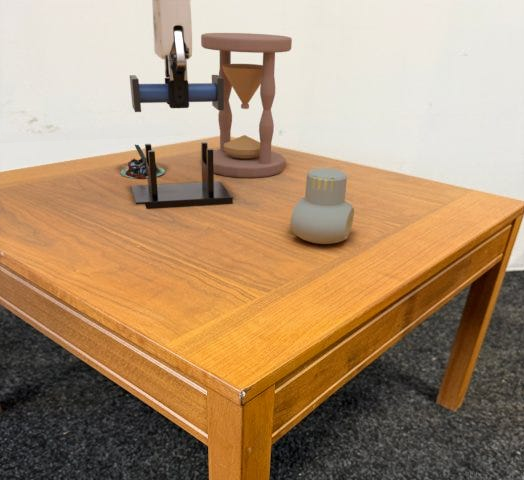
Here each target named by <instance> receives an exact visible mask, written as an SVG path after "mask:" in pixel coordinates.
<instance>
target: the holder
mask: <svg viewBox="0 0 524 480" xmlns="http://www.w3.org/2000/svg"><path fill="white" fill-rule="evenodd" d="M200 147H201V148H200V154H201V156H200V157H201V182H184V183H183V182H182V183H181V182H180V183H164V184H162V183H161V184H158V176H156V166H157V163H156V152H155V150H154V149H153V150H152V144H151V143H144V149H145V150H144V151H145V157H146V164H147V177H148V178H147V184H141V185H140V184H139V185H130V190H131V192H132V193H131V194H132V196H133V199H134V202H135V205H144V206H145V209H146V210H147V209H148V210H150V209H165V208H166V209H167V208H182V207H183V208H184V207H198V206H199V207H200V206H201V207H202V206H215V205H216V206H217V205H233V203H234V197H233V196H232V194H231V193H230V192H229V191H228V189H227V188H226V187H225V186H224V184H223V183H222V182H221V181H215V178H214V177H215V173H214V165H213V151H214V148H208V147H209V146H208V142H206V141H202V142H200Z"/></svg>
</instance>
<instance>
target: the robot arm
mask: <svg viewBox="0 0 524 480" xmlns="http://www.w3.org/2000/svg"><path fill="white" fill-rule="evenodd" d="M191 2H192V1H191V0H151V3H152V4H151V5H152V28H153V51H154V54H155V55H156V56H157V57H159V59H161V60H164V76H165V77H164V84H168V94H169V102H167V103H166V104H167V105H168V106H169V108H170V109H189V107H190V102H189V90H188V83H189V81H188V64H187V61H188V60H190V58H192V56H193V24H192V23H193V22H192V8H191V7H192V6H191Z"/></svg>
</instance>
